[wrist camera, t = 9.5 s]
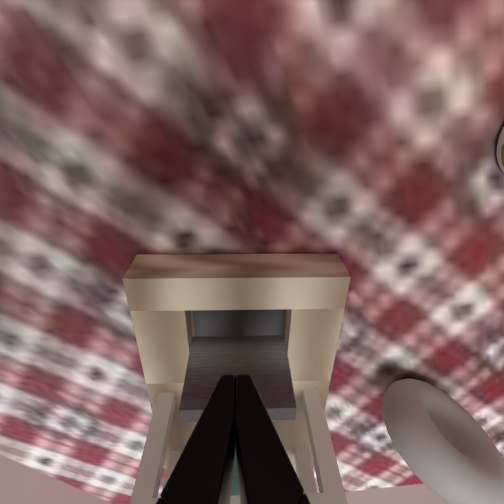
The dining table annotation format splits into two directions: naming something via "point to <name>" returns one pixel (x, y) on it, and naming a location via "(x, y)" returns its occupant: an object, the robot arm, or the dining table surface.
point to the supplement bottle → (501, 150)
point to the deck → (237, 320)
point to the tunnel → (328, 500)
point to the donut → (443, 444)
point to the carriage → (237, 362)
